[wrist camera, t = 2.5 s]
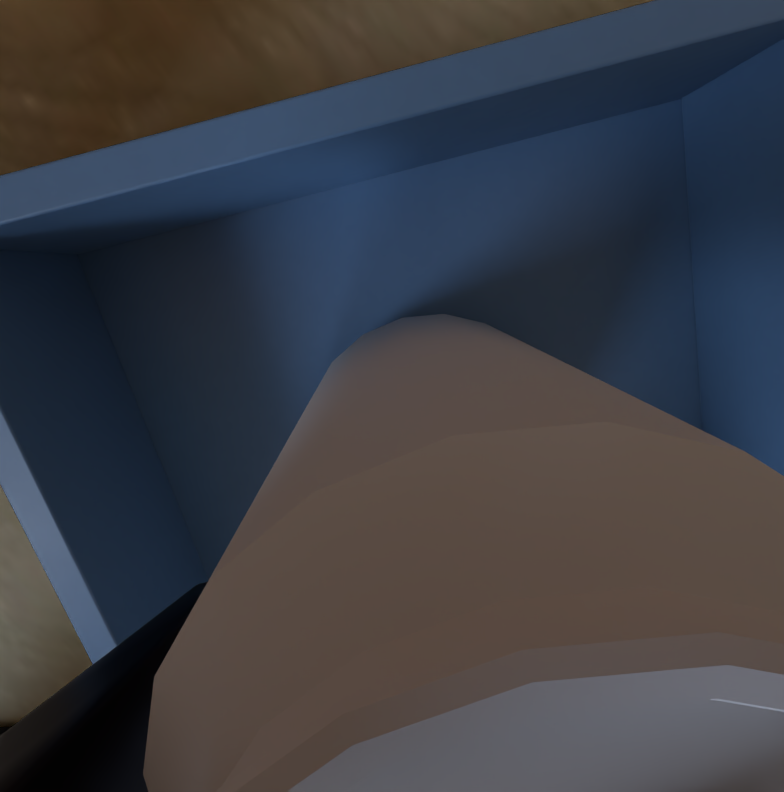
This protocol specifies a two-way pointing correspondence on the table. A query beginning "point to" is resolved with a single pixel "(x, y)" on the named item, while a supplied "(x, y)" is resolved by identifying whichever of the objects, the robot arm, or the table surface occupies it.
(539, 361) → the can
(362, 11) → the table surface
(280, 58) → the table surface
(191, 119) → the table surface
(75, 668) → the table surface
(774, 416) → the tub
